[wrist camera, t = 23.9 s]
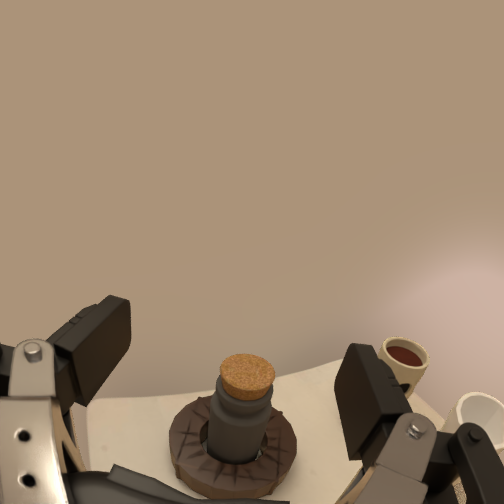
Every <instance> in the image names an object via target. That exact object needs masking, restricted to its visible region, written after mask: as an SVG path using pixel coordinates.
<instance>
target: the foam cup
mask: <svg viewBox="0 0 504 504" xmlns="http://www.w3.org/2000/svg"><path fill="white" fill-rule="evenodd" d="M466 422H470V423H475V424H477V425H479V426H480V427H482V428H483V429H484V430H485V431H486V433H487V434H488V436H489V438H490V440H491V442H492V444H493V446H494V448H495V450H496V452H497V454H498V455H499V454H500V453H501V452H502V451H503V450H504V405H503V404H502V403H501V402H499V401H498V400H497V399H495V398H494V397H492V396H490V395H487V394H484V393H481V392H473V393H467V394H466V395H464V396H463V397H461V398H460V399H459V400H458V401H457V403H456V404H455V406H454V407H453V409H452V410H451V411H450V413H449V415H448V417H447V420H446V422H445V424H444V425H443V427H442V429H441V430H440V432H446V433H453V434H454V433H455V432H456V430H457V429H458V428H459V427H460V425H462V424H463V423H466ZM459 482H461V479H460V477H459V478H458V479H457V480H455V481H454V482H453V483H452V485H453V486H455V485H456V484H458V483H459Z"/></svg>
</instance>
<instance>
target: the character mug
mask: <svg viewBox="0 0 504 504" xmlns="http://www.w3.org/2000/svg"><path fill="white" fill-rule="evenodd" d="M378 358H379V359H382V360H383V361H384V362H385V363H386V364H387V365H389V366H390V367H391V369H392V371H393V373H394V375H395V377H396V379H397V381H398V382H399V384H400V387H401V388H402V390H403V392H404V395H405V397H406V399H408V398H409V397H410V395H411V394H412V393H413V390H414V388H415V386H416V384H417V383H418V382H419V380H420V379H421V377H422V376H423V374H424V372H425V370H426V368H427V366H428V364H429V362H430V357H429V355H428V353H427V351H426V350H425V349H424V348H423V347H422V346H421V345H419V344H418V343H416V342H414V341H412V340H409V339H407V338H402V337H390V338H388V339H386V340H384V342H383V344H382V347H381V349H380V351H379V353H378Z"/></svg>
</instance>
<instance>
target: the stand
mask: <svg viewBox="0 0 504 504" xmlns="http://www.w3.org/2000/svg"><path fill="white" fill-rule="evenodd" d="M211 398H212V395H211V396H207V397H203V398H202V397H198V399H197V400H196V401H194V402H192V403H190V404H188V405H186V406H185V407H184V408H183V409H182V410H181V411H180V412H179V413H178V414H177V415H176V416H175V418H174V420H173V423H172V425H171V428H170V430H169V445H170V453H171V460H172V463H173V465H174V468H175V470H176V477H177V478H180V479H182V480H183V481H184V482H185V483H186V484H187V485H188V486H189V487H190V488H191V489H192V490H194V491H195V492H197V493H199V494H201V495H203V496H205V497H207V498H209V499H236V498H251V499H257V498H260V497H262V496H264V495H271V494H272V493H273V491H274V489H275V488H276V487H277V486H278V485H279V484H280V483H281V482H282V481H283V479H284V477H285V476H286V474H287V472H288V471H289V469H290V467H291V465H292V463H293V461H294V458H295V456H296V453H297V439H296V436H295V434H294V431H293V429H292V426H291V424H290V423H289V422H288V421H287V420H286V418H285V417H284V416H283V415H282V414H283V412H282V411H277V410H276V409H275V408H273V407H272V410H271V414H270V417H269V421H268V424H267V427H266V430H265V433H264V436H263V439H262V442H261V445H260V450H261V454H262V455H261V456H260V457H259V458H258V459H257V460H255V461H253V462H250V463H247V464H242V465H231V464H225V463H222V462H220V461H218V460H215V459H213V458H212V457H211V456H210V455H209V454H207V453H206V452H205V451H204V449H203V447H202V445H201V443H202V442H203V441H204V440H205V439H206V438H207V437H208V426H209V413H210V403H211Z"/></svg>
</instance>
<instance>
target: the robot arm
mask: <svg viewBox="0 0 504 504" xmlns="http://www.w3.org/2000/svg"><path fill="white" fill-rule="evenodd" d="M130 342H131V310H130V302H129V300H127V299H123V298H119V297H116V296H112V295H109V296H107V297H106V298H105V299H104V300H102V301H101V302H100V303H99V304H98V305H97V304H94V305H91V306H89V307H86V308H84V309H82V310H81V311H80V312H79V313H78V314H76V315H75V317H73V318H72V319H70V320H69V322H67V323H65V324H64V325H63V326H62V327H61V328H60V329H58V330H57V331H56V332H55V333H54V334H52V335H51V336H50V337H49V338H48V339H47V340H46V341H44V340H42V339H28V340H25V341H23V342H21V343H19V344H18V345H17V346H16V347H11V346H6V345H3V344H0V504H290V501H274V500H261V499H251V498H236V499H196V498H193V497H191V496H188V495H186V494H184V493H182V492H180V491H178V490H176V489H174V488H172V487H170V486H168V485H166V484H164V483H162V482H160V481H159V480H157V479H155V478H152V477H149V476H146V475H143V474H140V473H137V472H134V471H132V470H129V469H126V468H124V467H121V466H118V465H116V464H114V465H113V467H112V469H111V471H110V473H109V472H101V471H87V470H86V468H85V466H84V463H83V460H82V457H81V454H80V450H79V446H78V442H77V436H76V431H75V426H74V421H73V415H72V410H71V406H72V405H73V403H74V402H76V403H78V404H80V405H83V406H85V407H87V405H88V404H89V403H90V401H91V400H92V398H93V397H94V396H95V394H96V393H97V391H98V390H99V389H100V387H101V386H102V384H103V383H104V382H105V380H106V379H107V378H108V376H109V375H110V374H111V372H112V371H113V369H114V368H115V367H116V365H117V364H118V363H119V361H120V360H121V359H122V357H123V356H124V355H125V353H126V352H127V351H128V349H129V346H130ZM334 392H335V396H336V401H337V405H338V410H339V414H340V419H341V423H342V428H343V433H344V437H345V442H346V447H347V452H348V457H349V461H350V460H362V463H363V466H362V467H361V468H360V469H359V470H358V472H357V473H356V475H355V476H354V478H353V479H352V481H351V482H350V484H349V485H348V486H347V488H346V489H345V491H344V492H343V493H342V495H341V496H340V497H339V499H338V500H337V501H336V503H335V504H459V503H458V500H457V497H456V494H455V491H454V488H453V485H452V483H453V482H454V481H455V480H457V479H458V478H459V477H460V479H461V482H462V485H463V487H464V490H465V493H466V497H467V500H466V504H504V466H503V464H502V462H501V460H500V458H499V456H498V454H497V452H496V450H495V448H494V446H493V444H492V442H491V440H490V438H489V436H488V434H487V433H486V431H485V430H484V429H483V428H482V427H480V426H479V425H477V424H475V423H470V422H466V423H463V424H462V425H460V427H459V428H458V429H457V430H456V432H455V433H454V434H453V433H446V432H440V431H436V428H435V426H434V424H433V423H432V422H431V421H430V420H429V419H428V418H427V417H425V416H423V415H421V414H418V413H413V411H412V409H411V407H410V405H409V403H408V401H407V399H406V397H405V395H404V392H403V390H402V388H401V387H400V384H399V382H398V381H397V379H396V377H395V375H394V373H393V371H392V369H391V367H390V366H389V365H387V364H386V363H385V362H384V361H383V360H382V359H379V358H378V356H377V354H376V352H375V350H374V348H373V347H372V346H371V345H366V344H356V343H352V344H350V345H349V347H348V349H347V352H346V354H345V357H344V359H343V361H342V364H341V366H340V369H339V371H338V373H337V376H336V379H335V384H334Z"/></svg>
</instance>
